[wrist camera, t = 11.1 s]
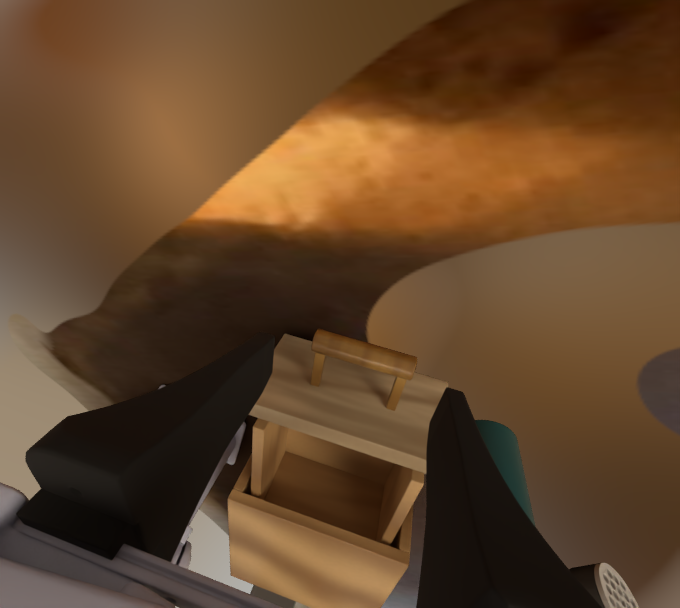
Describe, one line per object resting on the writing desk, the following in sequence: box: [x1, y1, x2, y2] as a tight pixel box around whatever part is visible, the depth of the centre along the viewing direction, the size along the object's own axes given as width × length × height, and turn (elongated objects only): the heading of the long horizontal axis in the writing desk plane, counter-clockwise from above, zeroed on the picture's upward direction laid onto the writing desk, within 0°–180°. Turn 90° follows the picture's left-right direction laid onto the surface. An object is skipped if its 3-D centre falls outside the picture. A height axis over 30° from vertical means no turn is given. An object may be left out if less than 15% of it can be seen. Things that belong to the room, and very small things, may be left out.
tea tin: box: [475, 420, 535, 526], centre depth 24 cm, size 5×5×8 cm
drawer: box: [249, 329, 448, 546], centre depth 25 cm, size 18×12×7 cm
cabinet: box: [228, 454, 413, 608], centre depth 32 cm, size 15×14×9 cm
